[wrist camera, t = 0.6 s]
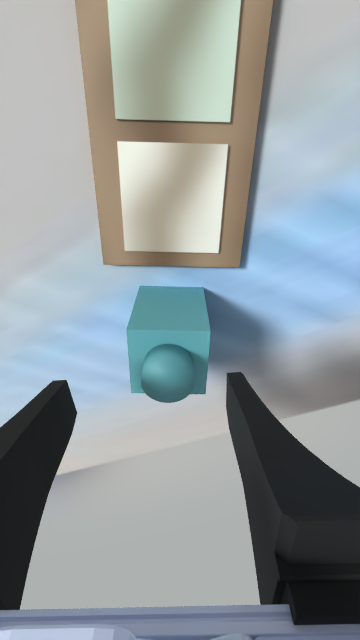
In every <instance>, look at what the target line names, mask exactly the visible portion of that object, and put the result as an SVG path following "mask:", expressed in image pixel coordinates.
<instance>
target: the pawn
mask: <svg viewBox="0 0 360 640" xmlns="http://www.w3.org/2000/svg"><path fill="white" fill-rule="evenodd" d="M210 335H211V329H210V324H209V318H208V312H207V306H206V300H205V295H204V289H203V287H165V286H140V287H139V291H138V294H137V297H136V300H135V304H134V307H133V310H132V314H131V317H130V320H129V323H128V327H127V341H128V355H129V368H130V381H131V393H146V394H147V395H148V396H149V397H150V398H152V399H154V400H156V401H159V402H165V403H171V402H177V401H180V400H182V399H184V398H186V397H187V396H188V395H189V394H205V392H206V381H207V370H208V358H209V347H210Z"/></svg>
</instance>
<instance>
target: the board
mask: <svg viewBox="0 0 360 640" xmlns="http://www.w3.org/2000/svg"><path fill="white" fill-rule="evenodd" d="M75 4H76V13H77V23H78V32H79V41H80V51H81V60H82V69H83V79H84V88H85V97H86V106H87V116H88V125H89V134H90V144H91V153H92V162H93V171H94V181H95V190H96V199H97V209H98V218H99V227H100V236H101V246H102V255H103V264H104V265H149V266H193V267H238V268H239V267H240V259H241V251H242V243H243V235H244V227H245V219H246V212H247V204H248V196H249V188H250V180H251V172H252V164H253V156H254V149H255V141H256V133H257V125H258V117H259V109H260V101H261V93H262V86H263V78H264V70H265V62H266V54H267V46H268V38H269V30H270V23H271V15H272V7H273V0H75Z"/></svg>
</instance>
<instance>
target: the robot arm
mask: <svg viewBox="0 0 360 640" xmlns="http://www.w3.org/2000/svg"><path fill="white" fill-rule="evenodd" d="M226 408H227V416H228V423H229V429H230V433H231V437H232V441H233V445H234V449H235V453H236V457H237V461H238V465H239V469H240V473H241V477H242V482H243V486H244V493H245V499H246V505H247V512H248V518H249V525H250V531H251V538H252V545H253V552H254V559H255V566H256V574H257V581H258V589H259V596H260V603H261V605H237V606H236V605H233V606H184V607H137V608H90V609H44V610H42V609H41V610H20V605H21V600H22V595H23V590H24V586H25V581H26V577H27V572H28V568H29V563H30V560H31V556H32V551H33V547H34V543H35V539H36V536H37V532H38V528H39V525H40V521H41V517H42V514H43V510H44V506H45V504H46V500H47V497H48V493H49V491H50V488H51V485H52V482H53V480H54V477H55V475H56V472H57V470H58V467H59V465H60V463H61V460H62V458H63V455H64V453H65V450H66V448H67V445H68V442H69V440H70V437H71V435H72V431H73V427H74V424H75V419H76V415H77V411H76V408H75V405H74V402H73V399H72V396H71V392H70V389H69V386H68V383H67V380H58V381H52V382H51V383H50V384H49V385H48V386H47V387H46V388H44V389H43V390H42V391H41V392H40V393H39V394H38V395H37V396H36V397H35V398H34V399H32V400H31V401H30V402H29V403H28V404H27V405H26V406H25V407H24V408H23V409H21V410H20V411H19V412H18V413H17V414H16V415H15V416H14V417H12V418H11V419H10V420H9V421H8V422H6V423H5V424H4V425H3V426H2V427H0V640H360V487H358V486H357V485H355V484H353V483H352V482H350V481H349V480H347V479H346V478H344V477H343V476H341V475H340V474H338V473H337V472H336V471H334V470H333V469H332V468H330V467H329V466H328V465H326V464H325V463H324V462H322V460H320V459H319V458H318V457H317V456H315V455H314V454H313V453H312V452H310V451H309V450H308V449H307V448H306V447H305V446H303V445H302V444H301V443H300V442H299V441H298V440H297V439H296V438H295V437H294V436H293V435H292V434H290V432H288V430H286V428H285V427H284V426H283V425H282V424H281V423H280V422H279V421H278V420H277V419H276V418H275V416H274V415H273V414H272V413H271V412H270V411H269V409H268V408H267V407H266V406H265V404H264V403H263V402H262V401H261V399H260V398H259V397H258V395H257V394H256V393H255V391H254V390H253V389H252V387H251V386H250V384H249V383H248V381H247V380H246V378H245V376H244V375H243V374H242V373H241V372H235V373H227V396H226Z"/></svg>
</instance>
